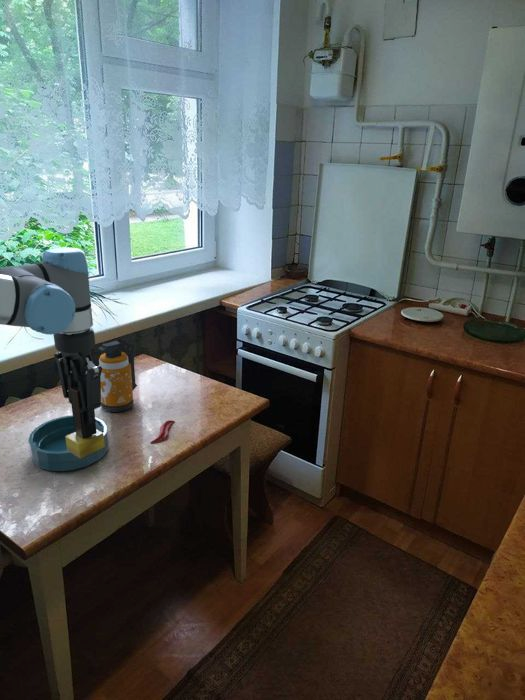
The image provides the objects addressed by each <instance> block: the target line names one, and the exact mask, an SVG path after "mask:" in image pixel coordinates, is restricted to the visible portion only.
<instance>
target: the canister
mask: <svg viewBox="0 0 525 700" xmlns="http://www.w3.org/2000/svg"><path fill="white" fill-rule="evenodd" d="M135 348H136V345H135V344H133V343H132V342H128V341H125V340H123V339H120V338H117V339H115V340H114V341H111V342H108V343H102V344H101V346H99V347H98V348H97V349H98V351H100V352H102V353H101V355H100V356H99V358H98V363H99V365H100V366H101V367H102V373H101V407H100V408H101V409H102V410H104V411H106V412H112V413H113V412H123V411H126V410H128V409H130V408H132V407H133V406H134V390H135V389H136V388H137V387H138V384H137V383H136V372H135V356H134V353H135ZM99 365H98V366H99Z"/></svg>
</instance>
